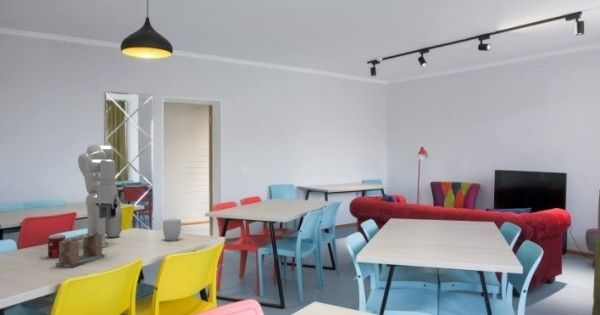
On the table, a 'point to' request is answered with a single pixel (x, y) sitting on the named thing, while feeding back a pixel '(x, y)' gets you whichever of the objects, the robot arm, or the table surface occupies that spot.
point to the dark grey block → (105, 211)
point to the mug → (171, 228)
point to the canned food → (54, 245)
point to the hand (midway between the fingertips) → (107, 215)
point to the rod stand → (71, 250)
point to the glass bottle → (114, 223)
